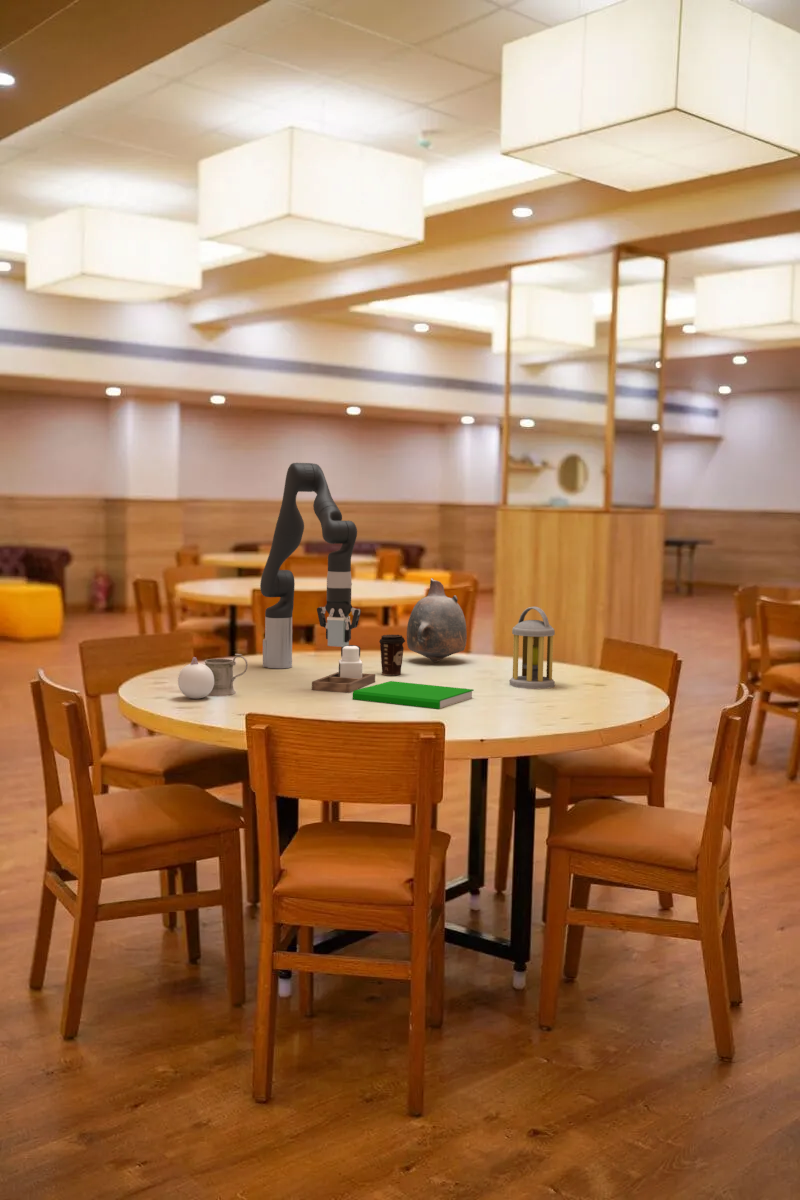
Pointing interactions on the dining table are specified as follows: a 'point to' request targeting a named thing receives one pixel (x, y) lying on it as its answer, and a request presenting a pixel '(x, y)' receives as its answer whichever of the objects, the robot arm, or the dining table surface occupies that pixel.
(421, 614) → the jug
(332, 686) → the brown flat rectangular frame
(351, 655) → the medicine bottle
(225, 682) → the mug
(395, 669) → the coffee cup
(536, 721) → the dining table surface
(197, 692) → the ornament
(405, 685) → the book
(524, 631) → the lantern
